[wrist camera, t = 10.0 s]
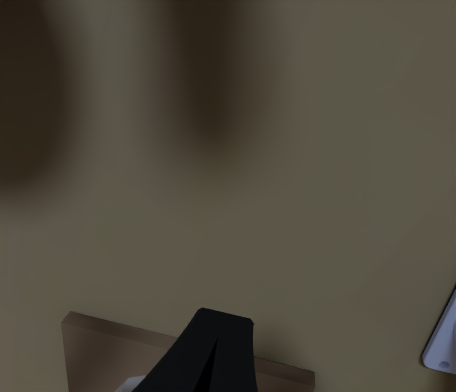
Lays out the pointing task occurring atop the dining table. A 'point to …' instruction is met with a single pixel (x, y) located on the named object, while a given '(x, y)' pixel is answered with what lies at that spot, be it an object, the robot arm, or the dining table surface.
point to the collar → (143, 358)
